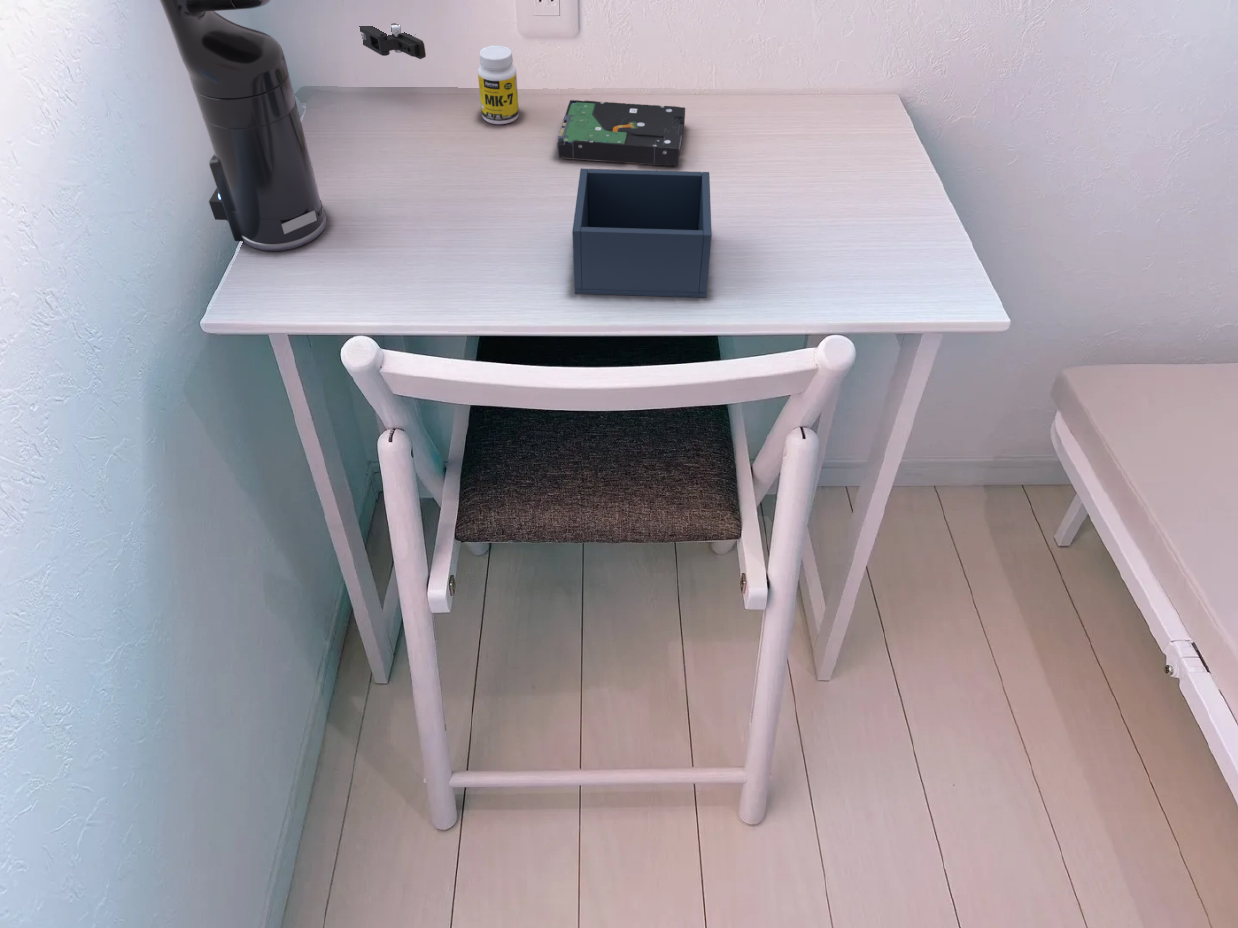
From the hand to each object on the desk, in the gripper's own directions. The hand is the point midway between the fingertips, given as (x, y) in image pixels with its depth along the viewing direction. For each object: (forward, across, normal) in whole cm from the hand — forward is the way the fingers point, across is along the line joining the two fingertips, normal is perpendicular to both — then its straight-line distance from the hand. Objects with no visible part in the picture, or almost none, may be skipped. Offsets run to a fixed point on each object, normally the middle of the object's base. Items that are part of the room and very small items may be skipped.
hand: (449, 39), depth 125 cm
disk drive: (+25, +6, +7) cm, 27 cm away
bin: (+43, -11, +7) cm, 45 cm away
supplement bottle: (+9, 0, +7) cm, 11 cm away
